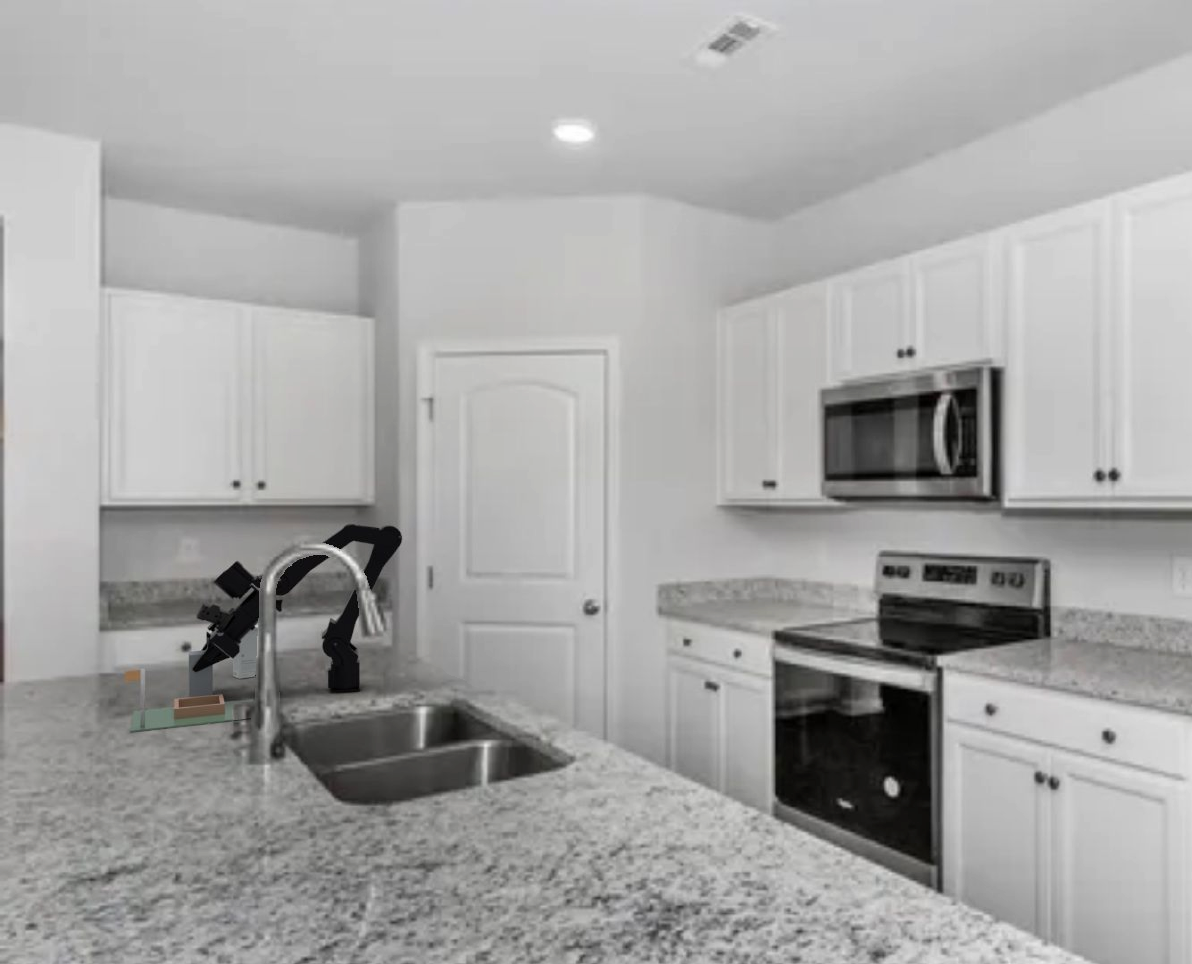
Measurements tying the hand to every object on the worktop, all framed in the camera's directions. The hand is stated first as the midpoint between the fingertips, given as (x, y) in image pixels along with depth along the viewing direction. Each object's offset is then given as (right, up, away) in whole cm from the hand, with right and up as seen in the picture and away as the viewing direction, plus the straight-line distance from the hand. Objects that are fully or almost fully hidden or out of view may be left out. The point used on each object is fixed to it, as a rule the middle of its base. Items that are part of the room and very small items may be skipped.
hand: (193, 668), depth 189 cm
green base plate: (+6, -7, -12) cm, 15 cm away
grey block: (+1, -7, +1) cm, 7 cm away
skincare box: (+2, -7, +25) cm, 26 cm away
